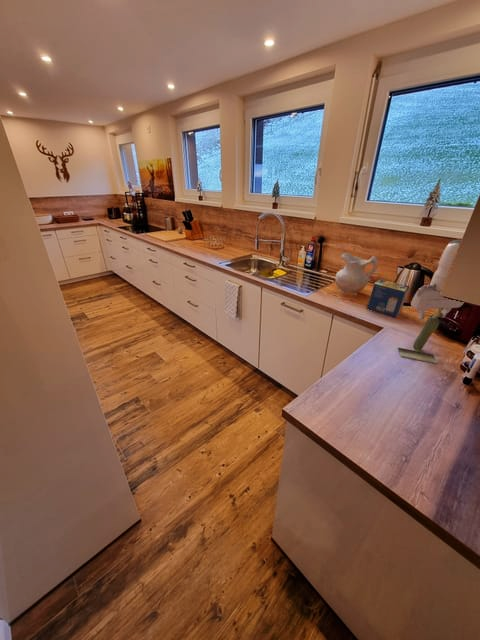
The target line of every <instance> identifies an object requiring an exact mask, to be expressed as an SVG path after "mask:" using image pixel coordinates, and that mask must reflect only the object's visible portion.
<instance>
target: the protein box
mask: <svg viewBox="0 0 480 640" xmlns="http://www.w3.org/2000/svg"><path fill="white" fill-rule="evenodd" d="M409 289H410V285H407V284H402V283H397V282H393V281H390V280H386V279H381V278H380V279H378V280H377V281H375V282H374V283H373V286H372V290H371V292H370V296H369V300H368V303H367V305H366V310H367V309H369V310H368V311H370V310H372V311H371V312H374V311H375V312H374V313H377V312H378V313H377V314H380V313H381V315H383V314H384V315H383V316H386V315H387V317H390V318H393V319H396V318H397V317H398V316H399V315H400V314H401V311H402V309H403V306H404V303H405V300H406V298H407V295H408V292H409Z"/></svg>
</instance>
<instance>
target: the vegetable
mask: <svg viewBox="0 0 480 640" xmlns="http://www.w3.org/2000/svg"><path fill="white" fill-rule="evenodd" d="M443 309H444V308H441V309H436V310H435V311H434V312H433V313H432V316H430V317H428V318H427V319H426V320H425V322H424V324H423V326H422V327H421V330H420V332H419V334H418V335H417V337H416V338H415V340H414V343H413V345H412V350H413V351H416V352H420V351H421V350H422V349H423V348H424V347H425V345H426V343H427V342H428V340H429V338H430V337H431V336H432V334H434V332H435V331H436V330H437V329H438V327H439V325H440V317H439V316H440V312H442V311H443Z"/></svg>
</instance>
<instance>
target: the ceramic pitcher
mask: <svg viewBox="0 0 480 640" xmlns="http://www.w3.org/2000/svg"><path fill="white" fill-rule="evenodd" d="M340 258H341V260H343V261H344V266H343V268H342V269H340V270H338V271H337V272H336V274H335V284H336V286H337V287H338V291H339V292H340V293H341V294H343V295H346V294H347V295H346V296H356V295H355V294H357V292H361V291H363V290H364V289H365V288H366V287H367V285H368V283H369V282H370V279H371V277H372V276H373V275H374V273H375V272H376V270H377V269H378V266H379V261H378V258H377V256H375V255H372V256H370V258H369V259H361V257H359V256H355V255H354V256H353V255H352V254H351V253H349V252H344V253H343V254H342V255H341V257H340ZM372 263H373V268H372V269H371V270H370V271H369V273H368V274H367V273H365V269H366V266H367V265H369V264H372Z"/></svg>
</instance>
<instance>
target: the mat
mask: <svg viewBox="0 0 480 640" xmlns="http://www.w3.org/2000/svg"><path fill="white" fill-rule="evenodd" d="M397 349H398V353H399V355H400V357H401V358H405V359H411V360H417V361H421V362H425V363H431V364H436V365H437V364H438V361H437V359H436V357H435V355H434V354H433V353H429V352H423V351H418V352H416V350H414V349H407V348H402V347H397Z"/></svg>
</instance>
